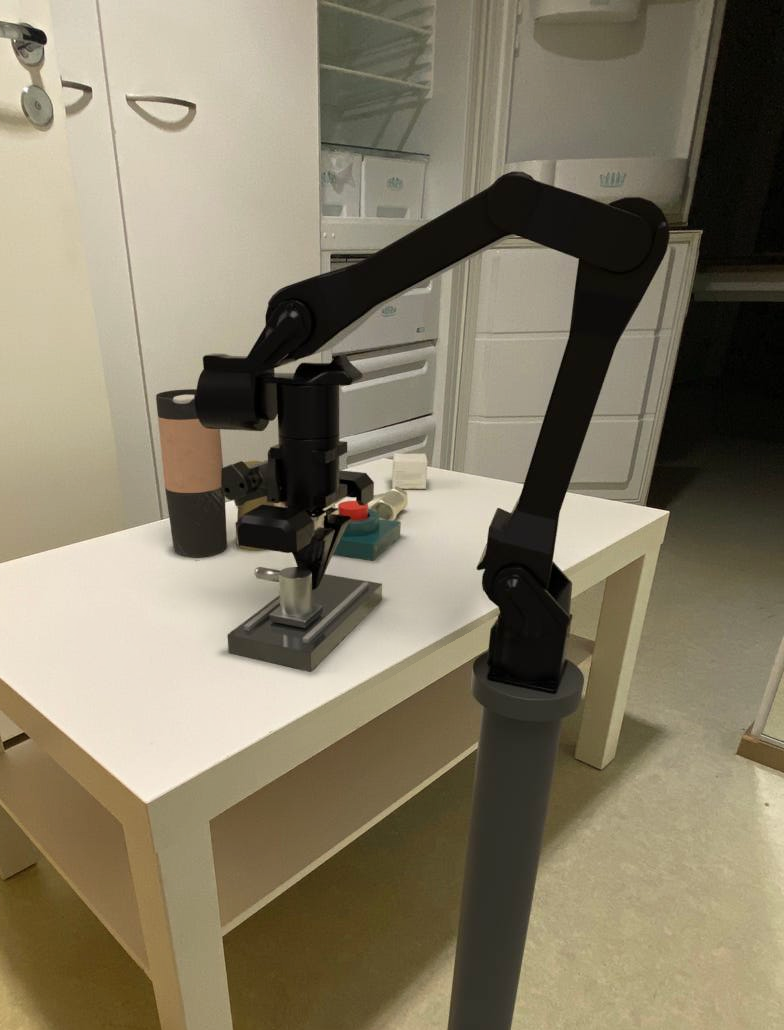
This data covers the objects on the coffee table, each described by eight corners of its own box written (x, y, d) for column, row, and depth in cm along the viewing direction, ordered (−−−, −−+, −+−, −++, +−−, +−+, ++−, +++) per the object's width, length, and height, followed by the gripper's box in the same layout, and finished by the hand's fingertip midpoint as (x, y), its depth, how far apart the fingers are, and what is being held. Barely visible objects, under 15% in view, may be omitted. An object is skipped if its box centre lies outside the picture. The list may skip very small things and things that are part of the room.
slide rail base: (382, 599, 81) (382, 579, 80) (311, 671, 67) (310, 648, 66) (310, 587, 85) (309, 567, 84) (228, 652, 71) (226, 629, 70)
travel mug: (205, 535, 103) (192, 387, 94) (240, 547, 98) (230, 392, 89) (160, 549, 98) (142, 394, 89) (194, 562, 93) (179, 400, 84)
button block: (400, 537, 100) (401, 509, 99) (373, 560, 92) (373, 530, 91) (334, 528, 104) (334, 500, 103) (303, 549, 97) (302, 520, 95)
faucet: (323, 612, 74) (322, 568, 71) (305, 628, 70) (304, 582, 68) (266, 601, 76) (264, 558, 74) (246, 616, 73) (244, 572, 71)
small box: (424, 480, 126) (426, 452, 124) (426, 489, 121) (428, 460, 119) (391, 480, 127) (392, 452, 125) (392, 489, 122) (393, 460, 120)
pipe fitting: (349, 526, 106) (393, 527, 104) (347, 499, 105) (392, 500, 102) (365, 510, 113) (408, 511, 110) (364, 485, 111) (407, 486, 109)
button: (372, 515, 98) (372, 502, 97) (361, 523, 94) (361, 510, 94) (345, 511, 99) (345, 499, 98) (333, 520, 96) (333, 507, 95)
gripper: (281, 411, 78) (286, 548, 85) (178, 447, 64) (194, 609, 71) (377, 418, 74) (374, 562, 81) (290, 458, 59) (296, 630, 66)
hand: (311, 588), depth 75 cm, fingers closed
